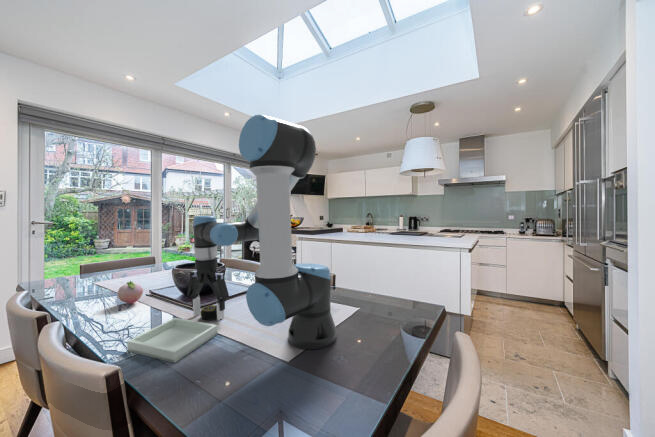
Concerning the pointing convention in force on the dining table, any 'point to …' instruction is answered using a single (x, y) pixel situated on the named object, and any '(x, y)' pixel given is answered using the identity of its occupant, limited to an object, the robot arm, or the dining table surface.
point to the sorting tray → (172, 339)
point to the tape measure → (209, 312)
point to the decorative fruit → (130, 292)
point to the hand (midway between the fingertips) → (208, 316)
